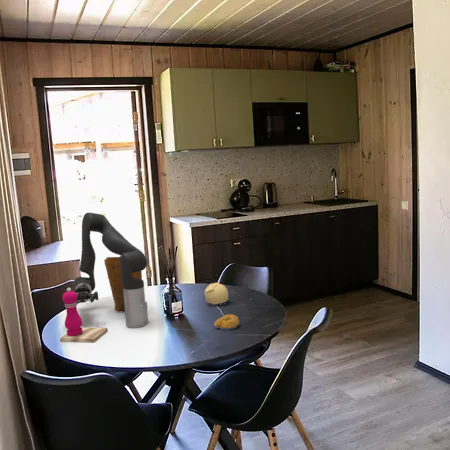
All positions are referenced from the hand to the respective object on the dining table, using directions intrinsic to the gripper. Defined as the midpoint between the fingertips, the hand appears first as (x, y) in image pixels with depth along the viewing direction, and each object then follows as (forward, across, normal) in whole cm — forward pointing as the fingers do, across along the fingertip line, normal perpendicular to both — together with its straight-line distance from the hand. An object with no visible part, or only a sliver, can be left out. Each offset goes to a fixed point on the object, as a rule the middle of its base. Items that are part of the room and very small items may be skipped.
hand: (81, 301), depth 208 cm
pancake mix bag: (-23, +20, +14) cm, 33 cm away
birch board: (+7, +1, +13) cm, 15 cm away
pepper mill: (+6, -3, +12) cm, 14 cm away
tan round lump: (-18, +64, +14) cm, 68 cm away
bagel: (+18, +60, +14) cm, 64 cm away
